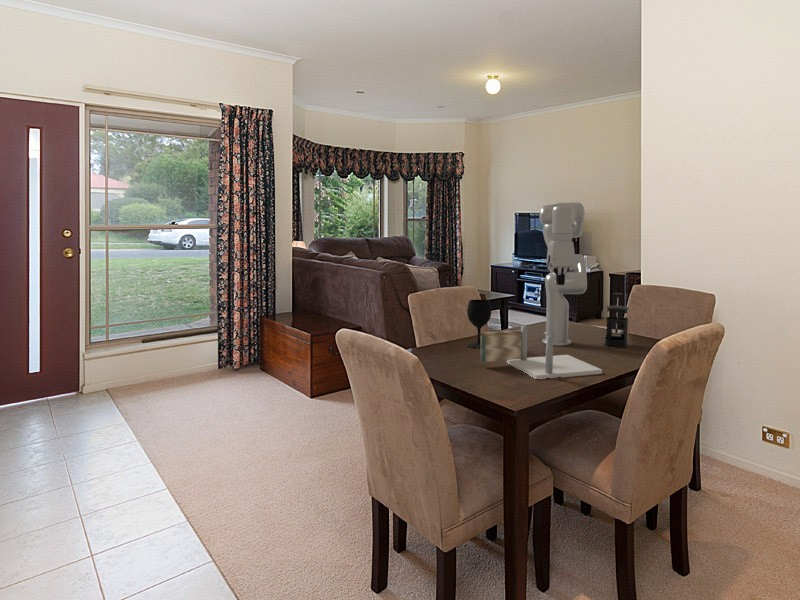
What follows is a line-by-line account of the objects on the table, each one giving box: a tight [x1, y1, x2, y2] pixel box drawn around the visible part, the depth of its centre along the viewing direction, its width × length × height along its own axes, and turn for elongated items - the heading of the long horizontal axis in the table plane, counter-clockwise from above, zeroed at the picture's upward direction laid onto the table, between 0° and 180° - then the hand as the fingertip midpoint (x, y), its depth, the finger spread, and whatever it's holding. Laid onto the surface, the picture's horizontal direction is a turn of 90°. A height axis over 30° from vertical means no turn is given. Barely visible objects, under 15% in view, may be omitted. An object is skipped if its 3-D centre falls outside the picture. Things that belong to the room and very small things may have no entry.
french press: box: [603, 292, 630, 349], centre depth 238 cm, size 12×9×23 cm
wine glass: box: [466, 299, 492, 348], centre depth 240 cm, size 10×10×20 cm
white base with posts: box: [506, 325, 603, 380], centre depth 203 cm, size 23×26×14 cm
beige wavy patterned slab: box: [479, 329, 521, 363], centre depth 209 cm, size 16×2×11 cm, turn 104°
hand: (560, 284), depth 217 cm, fingers closed
